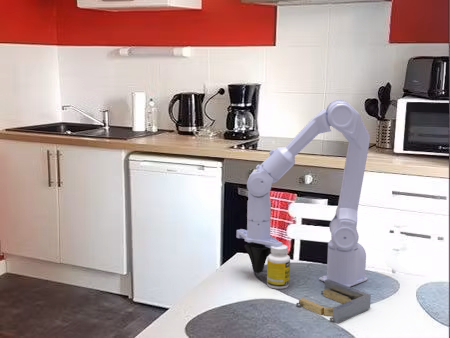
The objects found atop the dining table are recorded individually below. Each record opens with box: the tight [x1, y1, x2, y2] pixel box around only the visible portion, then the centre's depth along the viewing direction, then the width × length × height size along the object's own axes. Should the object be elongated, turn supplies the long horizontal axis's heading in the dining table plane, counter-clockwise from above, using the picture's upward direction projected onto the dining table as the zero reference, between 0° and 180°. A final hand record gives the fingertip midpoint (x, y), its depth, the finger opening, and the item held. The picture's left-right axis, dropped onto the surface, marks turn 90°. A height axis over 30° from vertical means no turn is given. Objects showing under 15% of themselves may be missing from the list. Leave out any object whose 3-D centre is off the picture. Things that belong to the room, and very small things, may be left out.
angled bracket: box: [295, 279, 372, 324], centre depth 126 cm, size 12×12×3 cm
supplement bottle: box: [266, 243, 291, 290], centre depth 137 cm, size 5×5×10 cm
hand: (258, 271), depth 143 cm, fingers closed
